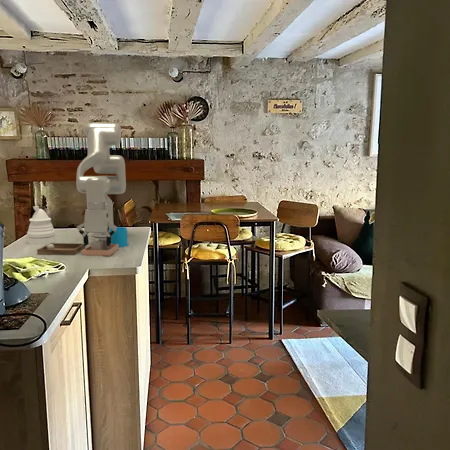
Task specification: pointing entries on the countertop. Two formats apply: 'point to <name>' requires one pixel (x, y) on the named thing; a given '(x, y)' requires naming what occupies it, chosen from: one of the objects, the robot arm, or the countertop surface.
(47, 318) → the countertop surface
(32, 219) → the honey pot
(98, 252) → the tray
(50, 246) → the pebble
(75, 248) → the tray
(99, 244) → the stone
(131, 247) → the countertop surface
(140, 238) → the countertop surface
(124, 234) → the mug
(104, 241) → the stone
